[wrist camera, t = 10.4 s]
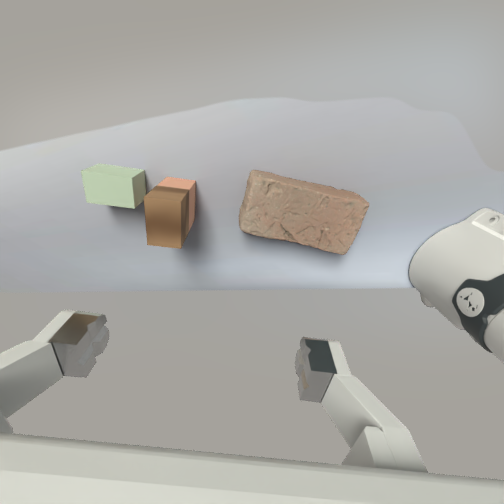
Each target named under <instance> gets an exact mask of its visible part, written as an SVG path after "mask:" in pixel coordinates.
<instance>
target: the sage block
mask: <svg viewBox="0 0 504 504" xmlns="http://www.w3.org/2000/svg"><path fill="white" fill-rule="evenodd" d="M81 174H82V180H83V185H84V190H85V196H86V201H87V203H94V204H102V205H110V206H118V207H126V208H133V209H135V208H136V207H137V206H138V205H139V204H140V203H141V202H143V201H144V196H145V195H146V183H145V170H142V169H135V168H128V167H121V166H113V165H106V164H97V165H94V166H92V167H89V168H87V169H84V170H82V171H81Z"/></svg>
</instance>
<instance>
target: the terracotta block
mask: <svg viewBox="0 0 504 504" xmlns="http://www.w3.org/2000/svg"><path fill="white" fill-rule="evenodd" d="M158 186H165V187H173V188H181V189H188V190H189V231H190V228H191V226H192V224H193V222H194V220H195V189H196V181H194V180H187V179H180V178H172V177H166V178H165V179H164V180H163V181H161V182H160V183H159V184H158Z"/></svg>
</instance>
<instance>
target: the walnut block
mask: <svg viewBox="0 0 504 504" xmlns="http://www.w3.org/2000/svg"><path fill="white" fill-rule="evenodd" d="M144 207H145V220H146V233H147V245H153V246H162V247H171V248H180V249H181V248H182V246H183V243H184V241H185V239H186V237H187V235H188V233H189V190H188V189H181V188H173V187H165V186H158V185H157V186H155V187H154V188H153V189H152V190H151V191H150V192H149V193H148V194H146V195H145V196H144Z"/></svg>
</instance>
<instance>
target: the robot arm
mask: <svg viewBox="0 0 504 504" xmlns="http://www.w3.org/2000/svg"><path fill="white" fill-rule="evenodd" d="M409 277H410V281H411V283H412V284H413V286H414V287H415V288H416V289H417V290H418V291H419V292H420V294H421V299H422V302H423V303H424V304H425V305H426V306H427V307H435V308H436V309H437V310H438V311H439V312H440V313H441V314H442V315H444V316H445V317H446V318H447V319H448V320H449V321H450V322H451V323H452V324H454V325H455V326H456V327H457V328H459V329H461V330H466V331H467V332H468V333H469V334H470V336H471V337H472V338H473V339H474V340H475V341H476V342H477V343H478V344H479V345H481V346H482V347H483V348H484V349H485V350H487V351H489V352H491V353H493V354H494V355H495V356H496V357H497V358H498V359H499V360H500V361H501V362H502V363H503V364H504V214H502V213H499V212H497V211H494V210H491V209H489V208H483V209H481V210H479V211H477V212H475V213H474V214H472V215H471V216H470V217H468V218H467V219H466V220H464V221H462V222H460V223H458V224H455V225H452V226H450V227H447V228H445V229H443V230H441V231H439V232H438V233H436V234H435V235H433V236H432V237H430V238H429V239H428V240H427V241H426V242H425V243H424V244H423V245H422V246H421V247H420V248H419V249H418V251H417V252H416V253H415V255H414V257H413V259H412V261H411V264H410V268H409ZM106 321H107V320H106V317H105V315H103V314H96V313H89V312H81V311H73V310H63V311H61V312H60V313H59V314H58V315H57V316H56V317H55V318H54V319H53V320H52V321H51V322H50V323H49V324H48V325H47V326H46V327H45V328H44V329H43V330H42V331H41V332H40V333H39V334H38V335H37V336H36V337H35V338H34V339H33V340H32V341H26V342H24V343H21V344H19V345H17V346H15V347H13V348H11V349H9V350H6V351H4V352H2V353H0V504H504V480H497V479H487V478H476V477H465V476H456V475H455V476H454V475H445V474H435V473H428V471H427V469H426V467H425V465H424V463H423V460H422V458H421V456H420V454H419V452H418V450H417V448H416V445H415V444H414V441H413V439H412V437H411V434H410V432H409V430H408V429H407V428H406V427H405V426H404V425H403V424H402V423H401V422H400V421H399V420H398V419H397V418H396V417H395V416H394V415H393V414H392V413H391V412H390V411H389V410H388V409H387V408H386V407H385V406H384V405H383V404H382V403H381V402H380V401H379V400H378V399H377V398H376V397H375V396H374V395H373V394H372V393H371V392H370V391H369V390H368V389H367V388H366V387H365V386H364V385H363V384H362V383H361V382H360V381H359V380H358V379H357V378H356V377H355V376H352V375H351V373H350V370H349V367H348V364H347V361H346V358H345V355H344V353H343V350H342V347H341V344H340V342H339V341H335V340H325V339H317V338H308V337H303V338H302V339H301V341H300V347H301V348H300V349H299V350H298V351H297V354H296V361H295V365H296V366H295V368H296V374H297V375H298V376H299V381H298V390H299V397H300V400H305V401H312V402H320V403H321V405H322V407H323V408H324V409H325V411H326V412H327V414H328V415H329V417H330V418H331V420H332V421H333V423H334V424H335V426H336V427H337V429H338V430H339V432H340V433H341V435H342V436H343V438H344V439H345V441H346V442H347V444H348V445H349V447H350V448H351V450H350V452H349V453H348V455H347V456H346V458H345V459H344V461H343V462H342V465H338V464H328V463H318V462H307V461H296V460H286V459H274V458H265V457H255V456H254V457H253V456H243V455H233V454H223V453H213V452H201V451H192V450H181V449H170V448H160V447H150V446H139V445H128V444H118V443H107V442H97V441H86V440H75V439H64V438H54V437H43V436H33V435H23V434H12V433H13V428H12V426H11V425H10V423H9V422H8V420H7V418H8V417H9V416H10V415H12V414H13V413H15V412H16V411H17V410H19V409H20V408H21V407H23V406H24V405H26V404H27V403H28V402H30V401H31V400H33V399H34V398H35V397H37V396H38V395H39V394H41V393H42V392H44V391H45V390H46V389H48V388H49V387H50V386H52V385H53V384H54V383H56V382H57V381H59V380H60V379H61V378H63V376H74V377H87V376H88V374H89V373H90V371H91V370H92V368H93V367H94V365H95V363H96V358H95V357H96V356H98V355H99V354H101V353H103V351H104V349H105V348H106V346H107V343H108V340H109V330H108V328H107V327H106V326H104V324H105V323H106Z"/></svg>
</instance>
